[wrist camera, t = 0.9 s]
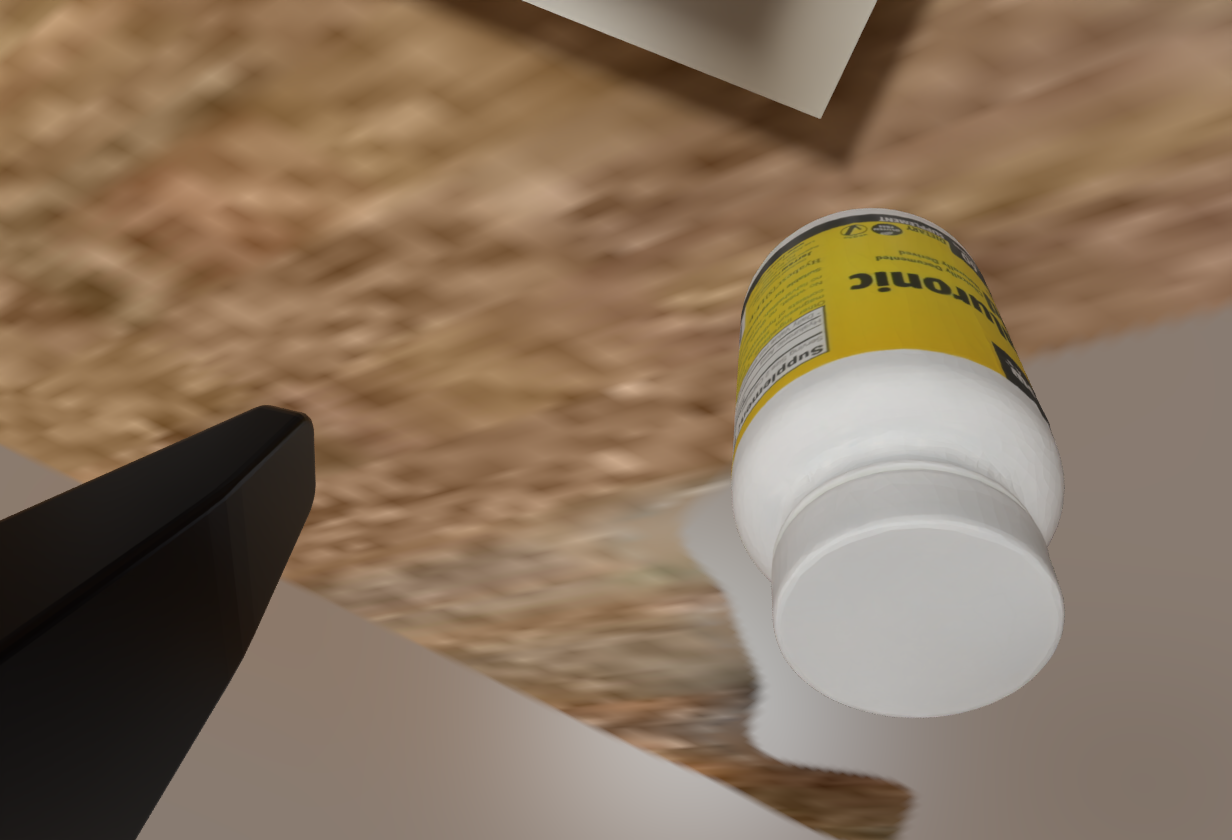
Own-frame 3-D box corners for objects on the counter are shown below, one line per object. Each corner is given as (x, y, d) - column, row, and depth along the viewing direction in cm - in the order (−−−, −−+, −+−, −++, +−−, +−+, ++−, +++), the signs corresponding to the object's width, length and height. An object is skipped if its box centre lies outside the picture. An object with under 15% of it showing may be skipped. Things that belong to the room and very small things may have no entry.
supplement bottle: (1039, 293, 20) (1216, 625, 12) (867, 447, 23) (918, 797, 15) (850, 147, 19) (909, 409, 11) (694, 329, 22) (649, 642, 14)
